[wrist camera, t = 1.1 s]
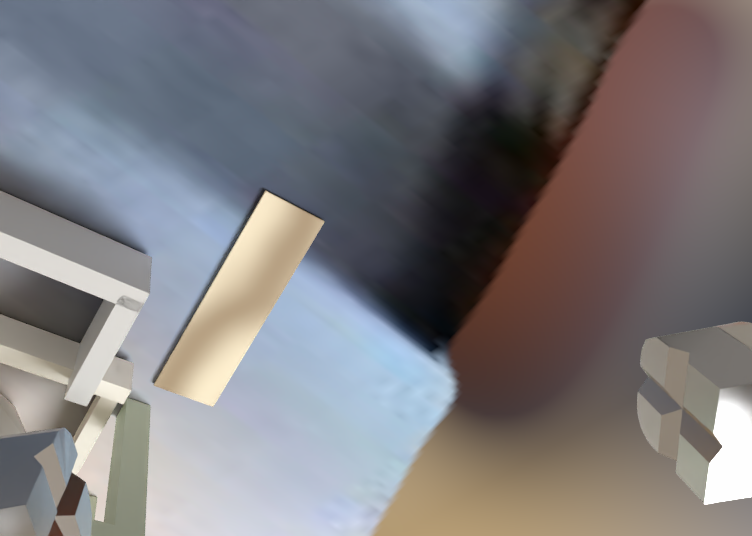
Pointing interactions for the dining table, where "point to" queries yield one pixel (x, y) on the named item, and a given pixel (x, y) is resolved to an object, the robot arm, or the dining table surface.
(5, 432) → the die
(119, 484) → the small green table
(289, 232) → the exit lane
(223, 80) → the dining table surface
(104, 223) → the dining table surface
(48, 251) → the white low frame
